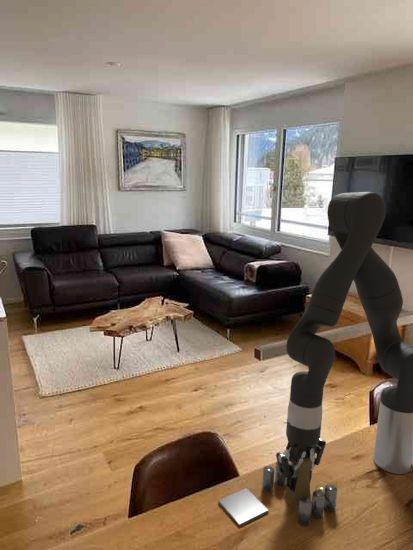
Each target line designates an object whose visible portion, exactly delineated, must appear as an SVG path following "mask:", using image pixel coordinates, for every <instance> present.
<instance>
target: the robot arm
mask: <svg viewBox="0 0 413 550" xmlns="http://www.w3.org/2000/svg"><path fill="white" fill-rule="evenodd" d="M386 208H387V206H386V202H385V201H384V198H383V197H382V196H381V195H380V194H379V193H377V192H373V191H355V192H343V193H338V194H336V195H334V196H333V197H331V199H330V201H329V203H328V206H327V211H326V213H327V221H328V224H329V226H330V229H331V231H332V234H333V235H334V238H335V239H336V242H337V244H338V246H339V248H340V252H339V253H338V255H337V256H336V257H335V258H334V260H333V261H332V262H331V263H330V264H329V265H328V266H327V267H326V269H324V270H323V272H322V274H320V276H319V277H318V279H317V281H316V282H315V284H314V287H313V290H312V293H311V296H310V299H309V302H308V304H307V307H306V309H305V311H304V312H303V314H302V316H301V317H300V318H299V320H298V321H297V323H296V324H295V325H294V327H293V329H292V330H291V331H290V333H289V335H288V338H287V339H286V347H285V348H286V353H287V355H288V357H289V358H290V359H291V360H293V361H295V362H298V363H299V364H301V365H304V366H305V367H308V371H305V370H304V371H303V370H302V371H298V372H296V373H294V374H293V375H292V377H291V382H290V393H289V401H288V406H287V415H286V416H287V417H286V426H285V427H286V428H285V434H286V438H287V439H286V440H287V444H286V446H285V450H284V451H283V452H280V451H277V453H276V454H275V456H276V462H278V466H279V470H280V473H282V474H283V475H284V476H285V477H286V483H285V485H286V487H288V488H289V489H290V490H291V491H292V492H294V491H295V487H296V482H297V477H296V476H297V473H298V472H297V469H300V467H301V465H302V462H303V459H305V458H308V457H309V458H310V460H311V461H312V468H311V470H310V471H309V477H310V482H311V481H312V475H313V470H314V469H315V466H319V465H320V463H321V459H322V457H323V453H324V450H325V447H326V445H327V442H326V441H325V440H323V438H321V434H322V433H321V432H322V431H321V430H322V429H321V428H322V420H323V397H324V396H323V395H324V387H325V385H326V382H327V379H328V377H329V374H330V372H331V369H332V367H333V365H334V363H335V359H336V349H335V346H334V344H333V342H332V341H331V340H330V339H328V338H326V337H324V336H320V335H319V334H316V333H317V331H319V330H320V328H322V327H327V328H332V327H336V325H337V324H338V322H339V319H340V317H341V314H342V310H343V308H344V305H345V303H346V300H347V297H348V293H349V291H350V288H351V286H352V284H353V282H354V284H355V285H354V286H355V288H356V293H357V294H358V295H357V296H358V298H359V300H360V303H361V306H362V308H363V312H365V313H364V314H365V316H366V319H367V323H368V326H369V329H370V332H371V335H372V339H373V343H374V348H375V353H376V358H377V362H378V364H379V366H380V368H381V369H382V371H384V373H386V374H388V376H389V375H390V376H391V377H393V378H394V379H397V384H396V386H388V387H387V386H386V387H384V388H383V389H382V390H381V392H380V393H381V394H380V400H379V408H378V417H377V425H376V433H375V434H376V435H375V439H374V440H375V442H374V448H373V456H372V459H373V462H374V464H375V465H376V466H378V467H379V468H380V469H381V470H383V471H385V472H388V473H392V474H396V475H405V474H408V473H409V472H410V471H411V469H412V468H411V467H412V464H413V345H411V344H409V343H407V342H405V341H404V340H403V338H402V336H401V333H400V330H399V328H398V324H397V323H398V319H399V317H400V315H401V313H402V312H401V311H402V310H403V305H404V304H403V303H404V301H403V299H404V298H403V293H402V290H401V288H400V284H399V282H398V281H399V280H398V278H397V276H396V274H395V273H394V271H393V270H392V269H391V267H390V265H388V264H387V263H386V262H385V260H384V259H383V258H382V257H381V256H380V255H379V254H378V253H377V252H376V251H375V249H373V243H374V242H375V241H376V239H377V236H378V235H379V233H380V231H381V228H382V226H383V224H384V221H385V219H386V213H387V211H386ZM315 454H316V457H315ZM291 458H292V459H293V460H294V461H295V462H297V464H294V463H293V462H292V461H291ZM290 465H291V466H292V467H293V470H291V466H290Z"/></svg>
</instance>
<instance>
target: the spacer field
mask: <svg viewBox="0 0 413 550" xmlns="http://www.w3.org/2000/svg"><path fill="white" fill-rule="evenodd" d="M262 469H263V472H262V485H261V486H262V490H263V491H265V492H269V493H270V492H272V491H274V484H276V485H277V486H280V487H283V486H285V485H286V481H287V478H286V477H285V476H284V475H283V474H282V473H280V470H279V466H278V462H277V461H276V463H275V468H274V467H273V466H270V465H267V466H264V467H263V468H262ZM325 485H326V486H325V495H324V493H322V492H321V491H315V490H313V492H312V497H311V500H310V499H309V498H306V497H303V498H301V499H300V501H299V507H298V513H297V522H298V524H299V525H300V526H302V527H308V526H310V524H311V517H312V518H314V519H316V520H321V519H323V517H324V511H326V512H329V513H333V512H335V510H336V504H337V495H338V488H337V487H336V486H335V485H333V484H331V483H330V484H325Z"/></svg>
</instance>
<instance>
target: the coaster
mask: <svg viewBox="0 0 413 550" xmlns="http://www.w3.org/2000/svg"><path fill="white" fill-rule="evenodd" d="M218 504H219V505H220V507H222V509H223V510H224V511H225V512H226V514H227V515H228V516H229V517H230V518H231V519H232V521H234V523H236V525H237V526H238V527H242V526H244V525H246V524H247V523H249V522H253V521H254V520H256V519H258V518H260V517H261V516H264V515H266V514H268V513H269V509H268V508H267V507H266V506H265V505H264V504H263V503H262V502H261V501H260V500H259V498H258V497H256V496H255V495H254V494H253V493H252V492H251V491H250V490H249V489H248V488H247V487H245V488H243V489H241V490H239V491H236V492H234V493H232V494H230V495H227V496H225V497H224V498H223V497H222V498H221V499H218Z"/></svg>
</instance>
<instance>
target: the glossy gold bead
mask: <svg viewBox="0 0 413 550" xmlns="http://www.w3.org/2000/svg"><path fill="white" fill-rule="evenodd" d="M326 485H327V484H324V483H317V484H316V485H315V490H314V491H321V492H322V493H324V495H325V486H326Z"/></svg>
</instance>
